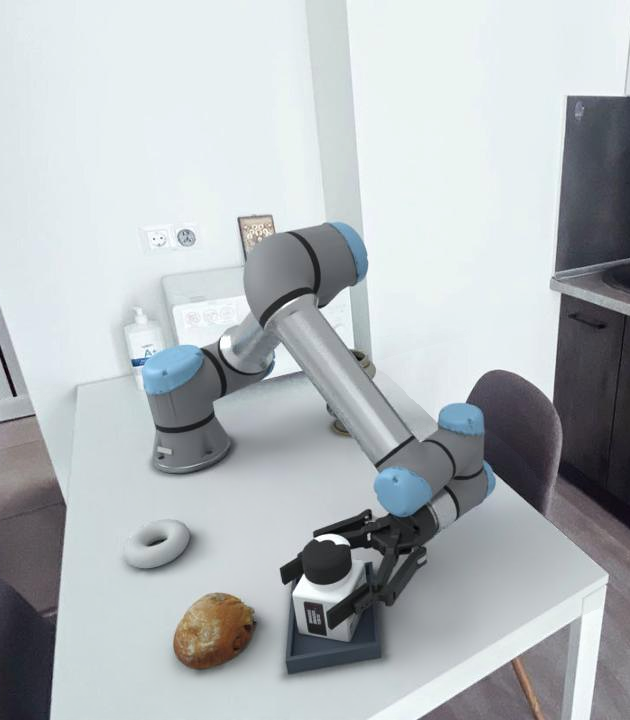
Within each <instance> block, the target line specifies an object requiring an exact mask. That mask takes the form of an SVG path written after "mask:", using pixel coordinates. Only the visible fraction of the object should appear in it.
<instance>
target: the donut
mask: <svg viewBox="0 0 630 720" xmlns="http://www.w3.org/2000/svg"><path fill="white" fill-rule="evenodd" d="M190 536H191V535H190V530H189V528H188V526H187V525H186V524H185V523H184V522H182V521H180V520H178V519H171V518H166V519H157V520H155V521H151V522H149V523H146V524H144V525H142V526H140V527H138V528H137V529H136V530H135V531H134V532H133V533H132V534H131V535H130V536H129V537H128V538H127V540H126V542H125V543H124V546H123V557H124V559H125V560H126V562H127V564H129V565H131V566H133V567H135V568H139V569H152V568H157V567H160V566H164V565H166V564H169V563H170V562H172V561H173V560H175V559H176V558H177V557H179V556H180V555H181V554H182V553H183V552H184V551H185V550H186V548H187V547H188V544H189V542H190V540H191V538H190ZM162 540H164V541H163V542H161V543H158V544H155V545H152V544H153V543H155V542H159V541H162Z"/></svg>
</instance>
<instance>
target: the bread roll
mask: <svg viewBox="0 0 630 720" xmlns="http://www.w3.org/2000/svg"><path fill="white" fill-rule="evenodd" d="M255 612H256V611H255V608H253V607H252V606H248V605H247V604H245V602H244V601H242V599H241V598H240V597H236V596H235V595H233V594H229V593H226V592H220V591H219V592H218V591H216V592H211V593H207V594H204V595H203V596H201V597H200V598H198V599H197V600H196V601H194V602H193V603H192V604H191V605H190V606H189V607H188V609H187V610H186V612H185V613H184V614H183V617H182V619H180V620H179V622H178V624H177V626H176V628H175V632H174V635H173V640H172V641H173V642H172V644H173V652H174V654H175V656H176V658H177V659H178V660H179V662H180V663H182V664H183V665H184V666H186V667H189V668H192V669H196V670H206V669H211V668H212V667H216V666H219V665H223V664H225V663H227V662H228V661H230V660H232V659H233V658H235V657H236V656H237V655H239V654H240V653H241V652H242V651H243V650H244V649H245V648H246V646H248V644H249V642H250V640H251V638H252V637H253V633H254V629H255V626H256V625H257V623H258V621H257V620H254V614H255Z"/></svg>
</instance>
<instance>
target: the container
mask: <svg viewBox="0 0 630 720" xmlns="http://www.w3.org/2000/svg"><path fill="white" fill-rule="evenodd" d="M301 551H302V563H303V570H304V574H303V576H302V578H301V579H300V581H299V583H298V585H297V586H296V588H295V590H294V591H293V594H292V595H293V601H294V607H295V613H296V619H297V625H298V631H299V633H300V634H305V635H311V636H316V637H322V638H328V639H333V640H339V641H344V642H350V641H351V639H352V636H353V634H354V632H355V629H356V627H357V624H358V622H359V620H360V617H361V615H362V613H360V614H358V615H356V614H355V613H353V614H352V615H351V616H350V617H348V618H347V619H346V620H344V621H343V622H342V623H340V624H339V625H338V626H337V627H335V628H334V629H333V630H330V629H329V628H328V624H327V616H326V611H328V610H329V609H331V608H332V607H333V606H335V605H336V604H337V603H339V602H340V601H341V600H343V599H344V598H345V597H347V596H348V595H350V594H351V593H352V592H354V591H355V590H356V589H358V588H359V587H360V586H362V585H363V584H364V583H366V573H365V563H366V562H365V561H364V560H361V559H360V560H359V559H354V558H352V549H351V547H350V544H349V542H348V541H347V540H346V539H345V538H343V537H342V536H339V535H335V534H326V535H321V536H318V537H316V538H312V539H311V540H309V541H308V542H307V543H306V545H305V546H304V547H303V549H302V550H301Z"/></svg>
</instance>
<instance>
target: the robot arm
mask: <svg viewBox="0 0 630 720" xmlns="http://www.w3.org/2000/svg"><path fill="white" fill-rule="evenodd" d="M368 271H369V259H368V251H367V247H366V245H365V243H364V240H363V239H362V237H361V236H360V234H359V233H358V231H356V229H354V227H352V226H351V225H349V224H348V223H345V222H341V221H332V222H331V221H330V222H329V221H325V222H323V223H322V224H318V225H312V226H308V227H302V228H297V229H292V230H287V231H283V232H282V231H281V232H275V233H272V234H270V235H267V236H265V237H263V238H262V239H260V240H259V241H258V242H257V243H256V244H255V245H254V246H253V247H252V249H251V250H250V252H249V253H248V255H247V258H246V260H245V263H244V266H243V277H242V282H243V283H242V284H243V290H244V295H245V298H246V302H247V304H248V307H249V309H250V311H249V312H248V314H247V315H246V316H245V317H244V318H243V320H242V321H241V322H240V324H235V325H232V326H230V327H229V328H227V329H225V330H224V332H223V333H222V334H221V336H220V337H219V338H218V339H217V340H215V342H213V343H210V344H207V345H204V346H202V347H198V346H197V345H193V344H181V345H178V346H171V347H168V348H165V349H162V350H160V351H158V352H156V353H154V354H153V355H151V356H150V357H149V358H147V360H146V361H145V362H144V364H143V366H142V367H141V368H142V369H141V377H142V385H143V386H142V387H143V390H144V391H145V394H146V398H147V402H148V405H149V410H150V412H151V415H152V420H153V424H154V428H155V434H154V440H153V441H154V442H153V449H152V459H153V463H154V466H155V467H156V469H158V470H159V471H161V472H164V473H168V474H187V473H193V472H198V471H201V470H204V469H207V468H209V467H211V466H213V465H215V464H217V463H218V462H220V461H221V460H223V459H224V458H225V457H226V456H227V455H228V453H229V452H230V450H231V441H230V437H229V434H228V432H227V431H226V430H225V428H224V427H223V425H222V424H221V422H220V420H219V419H218V417H217V416H216V412H215V408H214V402H216V401H217V400H219V399H222V398H224V397H226V396H229V395H231V394H233V393H235V392H238V391H240V390H242V389H244V388H247V387H249V386H251V385H254V384H257V383H260V382H261V381H263V380H264V379H266V378H267V377H269V375H270V374H271V373H272V372H273V370H274V368H275V366H276V361H275V359H276V354H275V353H276V352H275V349H276V348H277V347H278V346H280V344H282V345H283V346H284V348H285V349H286V351H287V352H288V353H289V355H290V356H291V357H292V359H293V360H294V361H295V363H296V364H297V365H298V367H299V368H300V369H301V370H302V372H303V373H304V374H305V376H306V378H308V380H309V381H310V383H311V384H312V385H313V386H314V388H315V390H316V391H317V392H318V393H319V395H320V396H321V397H322V398H323V400H324V401H325V402H326V405H327V404H328V405H329V406H330V408H331V409H332V410H333V412H334V413H335V414H336V416H337V417H338V418H339V420H340V421H341V422H342V424H343V425H344V426H345V428H346V429H347V430H348V432H349V433H350V434H351V435H350V436H351V437H352V438H353V439H354V441H355V443H356V444H357V445H358V447H359V448H360V449H361V450H362V452H363V453H364V454H365V456H366V457H367V459H368V460H369V461H370V462H371V464H372V465H373V466H374V468H375V469H376V471H377V472H378V474H377V476H376V477H375V479H374V482H373V491H374V493H375V494H376V499H377V501H378V503H379V504H380V506H381V507H382V508H383V509H384V510H385V511H387V513H388V514H386V515H385V516H381V517H376V516H375V515H374V514H373V511H372V509H371V508H366V509H364V510H363V511H362V512H360V513H358V514H357V515H354V516H351V517H348V518H345V519H344V520H340V521H338V522H334V523H332V524H328V525H326V526H323V527H320V528H317V529H315V530H314V531H313V532H312V537H313V538H312V539H314V538H316V537H318V536H321V535H326V534H335V535H339V536H342V537H343V538H345V539H346V540H347V541H348V542H349V544H350V547H351V550H356V549H361V548H364V549H365V550H368V549H373V550H374V551H377V552H379V553H380V555H381V556H383V557H382V560H381V562H380V564H379V567H378V569H377V571H376V573H375V575H374V581H373V583H372V581H371V588H370V589H369V585H368V584H367V583H364V584H363V585H362V586H360V587H359V588H358V589H356V590H355V591H354V592H352V593H351V594H350V595H348V596H347V597H345V598H344V599H343V600H341V601H340V602H339V603H337V604H336V605H335V606H333V607H332V608H331V609H329V610H328V611H326V616H327V624H328V628H329V629H330V630H333V629H334V628H335V627H337V626H338V625H339V624H340V623H342V622H343V621H344V620H346V619H347V618H348V617H350V616H351V615H352V614H353V613H355V614H356V615H358V614H360V613H362V612H363V611H364V610H366V609H367V608H368V607H369V606H371V605H372V604H373V603H375V602H376V603H380V602H381V603H383V604H384V605H385V607H388V608H389V607H392V606H393V605H394V604H395V602H396V601H397V600H398V598H399V597H400V595H401V594H402V593H403V591H404V590H405V589H406V587H407V586H408V585H409V583H410V582H411V580H412V578H413V577H414V575H415V574H416V573H417V572H418V570H419V569H421V568H422V567H423V566H425V565H426V564H427V563H428V553H427V552H428V549H427V547H426V546H424V545H426V544H427V543H429V541H431V540H433V539H434V537H435V536H437V535H439V534H440V533H441V532H443V531H444V530H445V529H447V528H448V527H449V526H450V525H452V524H453V523H455V522H456V521H457V520H458V519H460V518H461V517H463V516H464V515H465V514H466V513H468V512H470V511H471V510H472V509H474V508H475V507H477V506H480V505H481V504H482V503H483V502H484V501H485V500H486V499H487V498H488V497H489V496H491V494H492V493H493V492H494V490H495V489H496V484H497V479H496V475H494V470H493V468H492V466H491V465H490V464H489V463H488V462H487V460H485V459H484V457H485V434H486V431H485V430H486V429H485V419H484V418H485V417H484V413H483V411H482V410H481V409H480V408H479V407H478V406H476V405H473V404H470V403H467V402H454V403H449V404H447V405H445V406H443V407H441V409H440V411H439V412H438V417H437V424H436V425H437V429H436V430H435V431H434V432H432V433H431V434H430V435H428V436H427V437H426V438H424V439H423V440H422V441H420V440H419V439H418V438H417V436H415V434H414V433H413V431H411V429H410V428H409V426H408V425H407V424H406V422H405V421H404V420H403V418H402V416H401V415H400V414H399V413H398V412H397V410H395V408H394V407H393V405H392V404H391V403H390V401H389V400H388V399H387V398H386V396H385V395H384V394H383V392H382V391H381V390H380V388H379V387H378V385H377V384H376V383H375V381H374V380H373V379H371V378H370V376H369V375H368V374H367V372H366V371H365V370H364V368H363V367H362V366H361V364H360V363H359V362H358V360H357V359H356V358H355V356H354V355H353V354H352V353H351V351H350V350H349V349H350V348H349V347H348V346H347V344H346V343H345V342H344V341H343V339H342V338H341V337H340V335H339V334H338V333H337V331H336V330H335V329H334V327H333V326H332V325H331V324H330V322H329V321H328V320H327V318H326V317H325V315H324V314H323V312H322V311H321V309H324V308H325V307H326V306H327V307H328V305H329V304H330V303H331V302H332V301H333V300H334V299H336V297H337V296H338V295H339V294H340V292H342V291H343V290H345V289H346V288H348V287H355V286H356V285H358V284H360V283H361V282H363V280H364V279H365V278H366V276H367V273H368ZM368 535H369V537H368ZM369 539H370V540H369ZM302 551H303V550H301V551H300V552H299V553H298V554H296V557H295V558H294V559H292V560H290V561H288V562H287V563H286V564H283V565H282V566H280V567H279V573H280V578H281V579H280V580H281V583H282V584H283V585H284V586H286V585H288V584H290V583H292V580H294V579H295V578H297V577H299V576H300V575H302V574H303V573H304V570H303V563H302ZM407 555H408V556H407ZM401 556H407V557H406V558H405V560H404V561H403V563H402V564H401V565H400V566H399V568H398V570H397V571H396V572H395V573H394V575H393V576H392V574H393V571H394V568H395V567H396V566H397V564H398V561H399V559H400V557H401ZM391 576H392V577H391Z"/></svg>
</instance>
